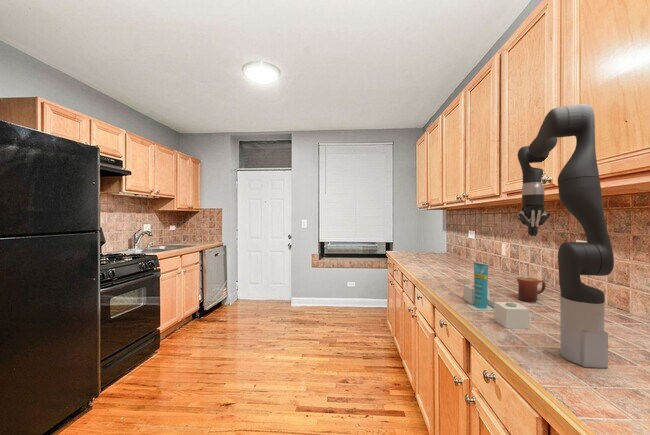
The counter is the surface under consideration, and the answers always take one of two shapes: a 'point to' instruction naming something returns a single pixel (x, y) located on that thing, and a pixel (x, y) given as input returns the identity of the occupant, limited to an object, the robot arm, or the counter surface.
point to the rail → (490, 302)
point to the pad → (479, 308)
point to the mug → (529, 288)
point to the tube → (480, 285)
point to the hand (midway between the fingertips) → (532, 235)
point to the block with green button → (511, 315)
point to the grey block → (472, 293)
